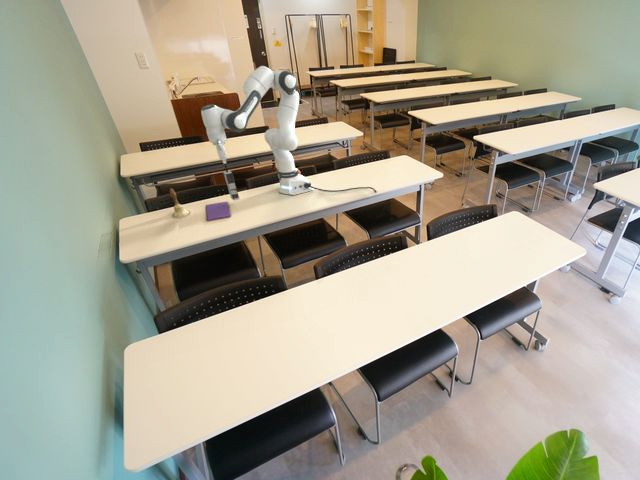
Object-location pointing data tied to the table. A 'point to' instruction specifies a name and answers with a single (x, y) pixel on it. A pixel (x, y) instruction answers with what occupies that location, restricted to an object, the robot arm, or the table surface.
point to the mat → (217, 211)
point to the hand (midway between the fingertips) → (224, 162)
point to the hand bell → (177, 206)
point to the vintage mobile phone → (231, 184)
